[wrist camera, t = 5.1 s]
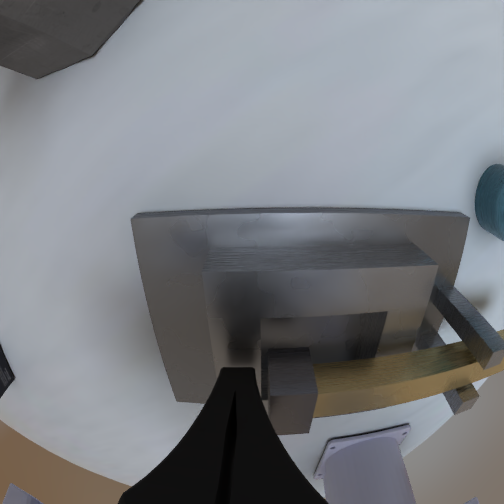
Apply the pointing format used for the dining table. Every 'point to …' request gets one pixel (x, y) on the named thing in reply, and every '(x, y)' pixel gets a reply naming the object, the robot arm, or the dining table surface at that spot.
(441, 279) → the dock
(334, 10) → the dining table surface
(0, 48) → the coffeepot
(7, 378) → the small box
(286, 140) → the dining table surface
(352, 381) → the pin
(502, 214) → the teal glass cylinder
